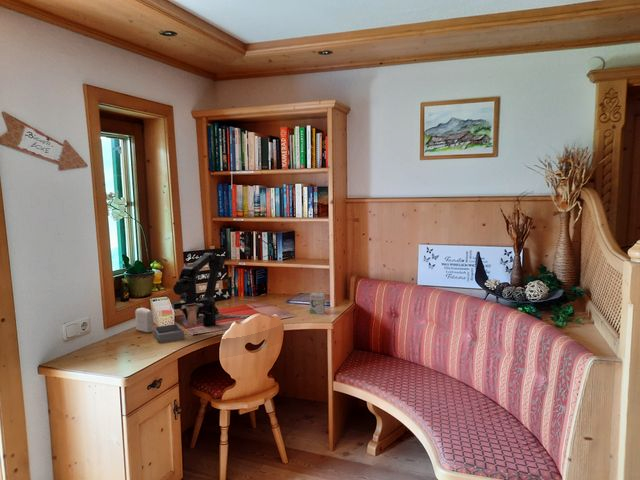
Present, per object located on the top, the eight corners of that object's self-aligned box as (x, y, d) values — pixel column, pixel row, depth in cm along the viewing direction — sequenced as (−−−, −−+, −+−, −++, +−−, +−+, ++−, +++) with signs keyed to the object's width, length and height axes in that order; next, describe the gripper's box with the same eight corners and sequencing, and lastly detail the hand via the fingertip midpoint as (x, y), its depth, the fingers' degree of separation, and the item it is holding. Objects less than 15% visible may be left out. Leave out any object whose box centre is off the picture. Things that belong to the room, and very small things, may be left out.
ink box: (325, 312, 282) (325, 293, 280) (323, 314, 277) (323, 295, 275) (312, 311, 284) (312, 292, 283) (309, 313, 279) (309, 294, 278)
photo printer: (154, 330, 249) (153, 308, 248) (148, 333, 245) (146, 310, 244) (141, 327, 254) (140, 305, 253) (134, 330, 250) (133, 307, 249)
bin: (177, 330, 249) (177, 323, 248) (183, 338, 236) (183, 331, 236) (153, 334, 243) (153, 327, 242) (159, 342, 230) (158, 335, 230)
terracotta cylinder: (195, 322, 247) (194, 307, 246) (198, 324, 243) (197, 309, 242) (186, 323, 245) (185, 308, 244) (188, 326, 240) (187, 311, 239)
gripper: (203, 285, 253) (205, 313, 255) (168, 289, 244) (170, 318, 246) (209, 289, 243) (211, 318, 245) (173, 293, 234) (174, 323, 236)
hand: (191, 319), depth 243 cm, fingers closed on terracotta cylinder, 5 cm apart
